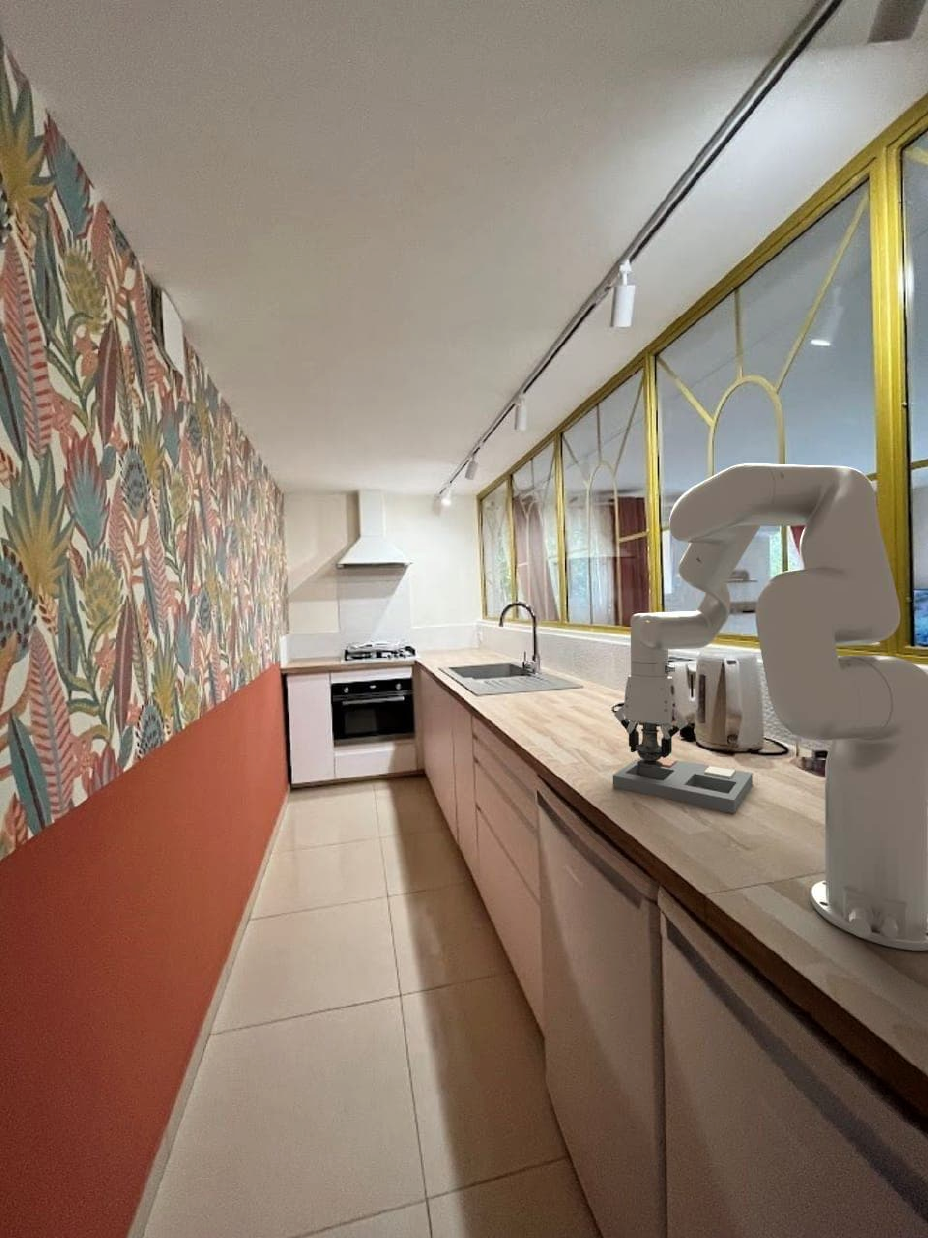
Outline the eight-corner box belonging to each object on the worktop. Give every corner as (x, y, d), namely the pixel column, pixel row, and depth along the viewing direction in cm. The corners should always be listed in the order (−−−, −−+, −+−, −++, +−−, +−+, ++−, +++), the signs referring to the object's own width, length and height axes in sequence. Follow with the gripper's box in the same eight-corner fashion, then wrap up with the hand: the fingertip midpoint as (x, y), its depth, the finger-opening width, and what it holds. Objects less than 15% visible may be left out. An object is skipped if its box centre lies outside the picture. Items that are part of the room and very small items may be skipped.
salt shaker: (667, 769, 103) (666, 712, 103) (637, 767, 104) (637, 711, 104) (661, 760, 109) (661, 706, 109) (633, 759, 110) (633, 706, 110)
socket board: (734, 813, 90) (733, 798, 90) (612, 786, 105) (612, 773, 105) (752, 784, 105) (752, 771, 105) (644, 764, 119) (643, 752, 119)
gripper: (696, 671, 104) (697, 756, 104) (617, 666, 115) (617, 743, 115) (686, 675, 98) (687, 765, 98) (603, 669, 109) (604, 750, 109)
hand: (649, 752), depth 107 cm, fingers closed on salt shaker, 5 cm apart
